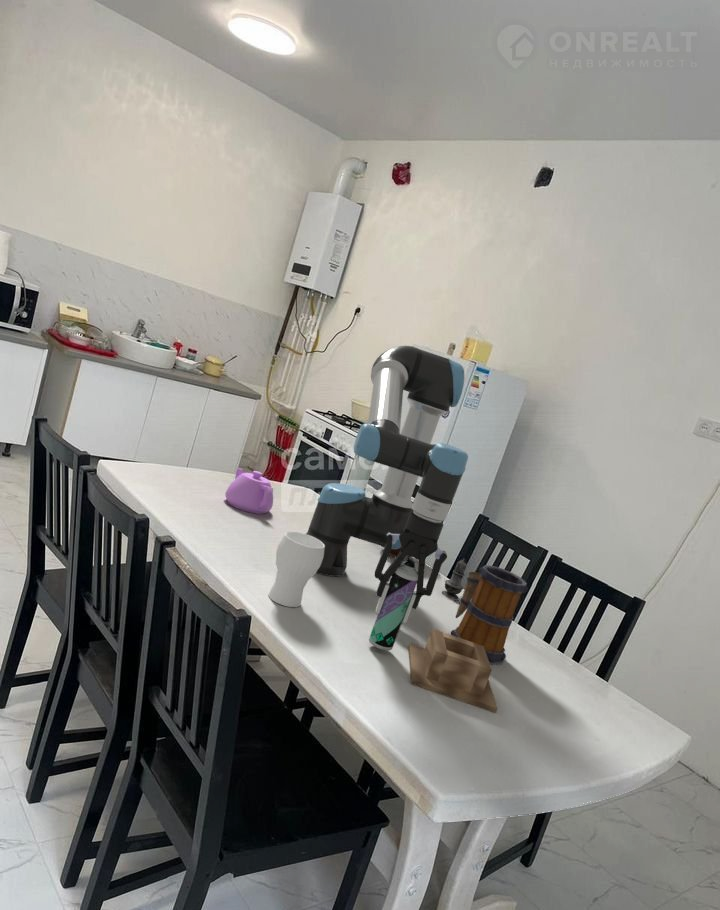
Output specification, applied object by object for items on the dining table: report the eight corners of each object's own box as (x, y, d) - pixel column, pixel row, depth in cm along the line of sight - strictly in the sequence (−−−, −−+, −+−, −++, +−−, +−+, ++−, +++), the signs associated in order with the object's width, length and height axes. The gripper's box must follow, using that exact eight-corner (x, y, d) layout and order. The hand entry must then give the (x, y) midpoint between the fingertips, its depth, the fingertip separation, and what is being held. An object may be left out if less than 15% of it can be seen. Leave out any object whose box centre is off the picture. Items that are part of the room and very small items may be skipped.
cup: (314, 604, 162) (334, 546, 160) (292, 614, 152) (313, 552, 150) (277, 585, 166) (296, 528, 164) (253, 594, 156) (273, 532, 154)
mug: (428, 621, 177) (455, 550, 174) (473, 629, 183) (500, 559, 180) (467, 662, 160) (498, 583, 157) (515, 668, 166) (545, 592, 163)
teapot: (283, 521, 222) (295, 486, 221) (243, 517, 212) (255, 480, 210) (249, 496, 238) (260, 464, 237) (210, 491, 228) (221, 457, 226)
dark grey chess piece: (459, 602, 202) (473, 564, 200) (440, 594, 203) (454, 557, 201) (460, 596, 208) (473, 559, 206) (441, 589, 208) (455, 552, 207)
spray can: (367, 634, 152) (397, 551, 149) (390, 641, 153) (421, 559, 150) (369, 646, 147) (401, 560, 144) (393, 653, 147) (425, 567, 144)
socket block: (411, 683, 139) (423, 652, 138) (408, 647, 156) (418, 619, 155) (496, 712, 139) (508, 681, 138) (483, 672, 157) (494, 644, 156)
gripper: (386, 505, 141) (349, 608, 145) (471, 535, 142) (432, 636, 145) (386, 498, 149) (351, 595, 152) (466, 526, 149) (430, 622, 153)
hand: (390, 615), depth 149 cm, fingers closed on spray can, 5 cm apart
